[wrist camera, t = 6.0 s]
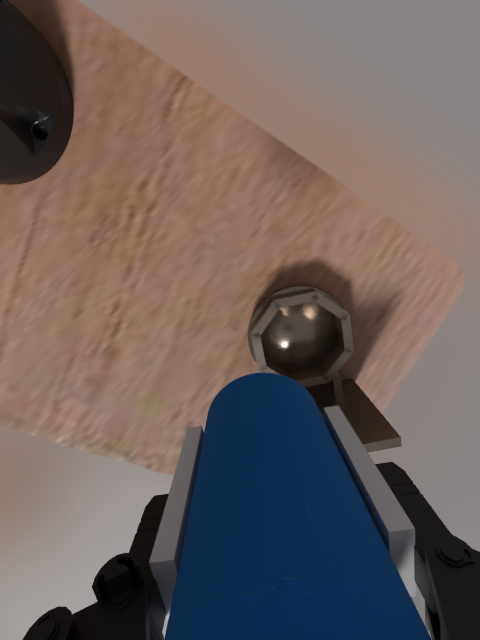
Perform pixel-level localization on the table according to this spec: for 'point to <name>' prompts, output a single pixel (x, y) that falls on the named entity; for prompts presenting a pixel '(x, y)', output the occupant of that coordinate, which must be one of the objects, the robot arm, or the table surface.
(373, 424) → the cup bracket
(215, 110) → the table surface
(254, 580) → the beverage can
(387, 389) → the table surface
